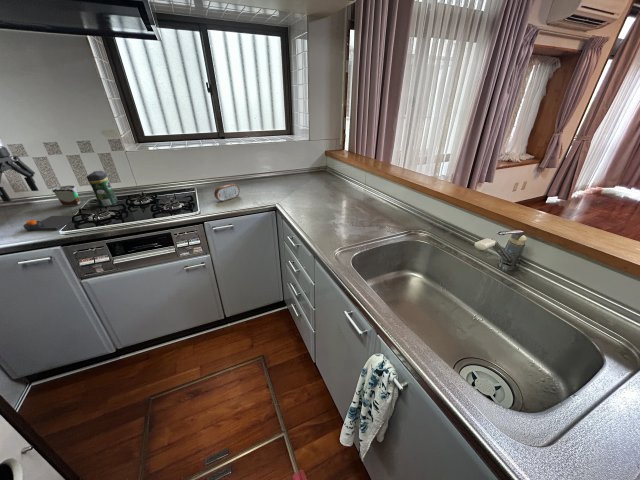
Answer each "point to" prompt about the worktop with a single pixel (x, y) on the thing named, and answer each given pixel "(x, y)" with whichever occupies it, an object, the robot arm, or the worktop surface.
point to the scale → (49, 223)
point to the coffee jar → (102, 188)
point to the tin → (227, 192)
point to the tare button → (31, 222)
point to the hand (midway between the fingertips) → (22, 195)
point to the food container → (67, 195)
